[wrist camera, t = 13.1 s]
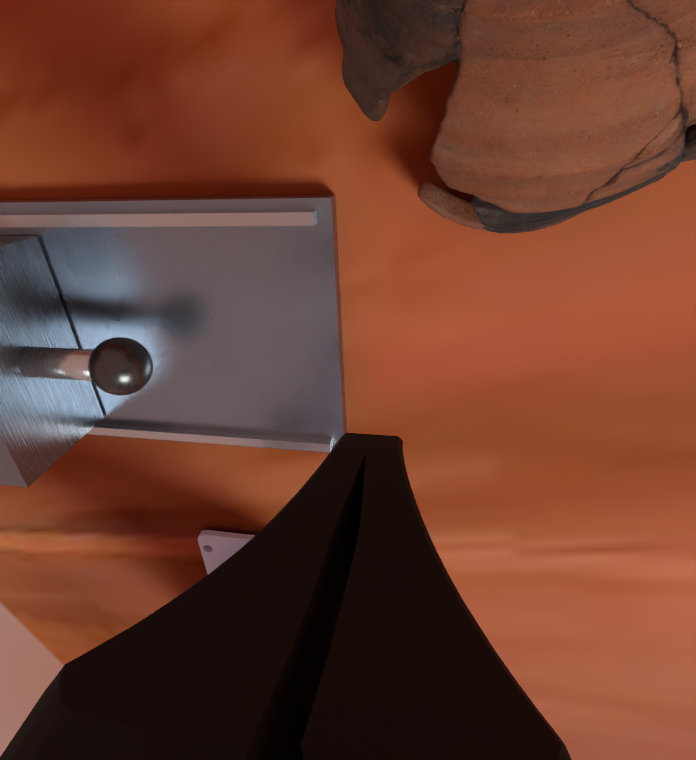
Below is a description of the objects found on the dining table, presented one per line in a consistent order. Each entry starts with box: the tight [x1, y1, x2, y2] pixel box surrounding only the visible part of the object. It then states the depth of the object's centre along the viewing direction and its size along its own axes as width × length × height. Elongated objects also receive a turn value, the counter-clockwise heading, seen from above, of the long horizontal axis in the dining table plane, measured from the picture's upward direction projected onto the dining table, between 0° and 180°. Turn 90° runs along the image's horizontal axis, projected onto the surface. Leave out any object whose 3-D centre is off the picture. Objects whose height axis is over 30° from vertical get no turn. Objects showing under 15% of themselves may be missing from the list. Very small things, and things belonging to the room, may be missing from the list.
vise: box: [0, 195, 346, 453], centre depth 16 cm, size 10×20×5 cm, turn 92°
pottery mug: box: [335, 0, 696, 233], centre depth 9 cm, size 12×10×8 cm
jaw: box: [0, 236, 153, 487], centre depth 16 cm, size 8×7×4 cm
